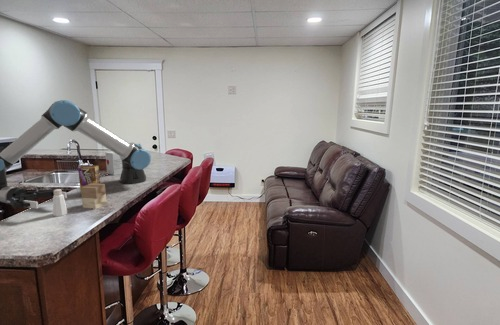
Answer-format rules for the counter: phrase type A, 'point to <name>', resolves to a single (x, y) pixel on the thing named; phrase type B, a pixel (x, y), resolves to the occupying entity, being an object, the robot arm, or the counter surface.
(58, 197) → the salt shaker
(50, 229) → the counter surface
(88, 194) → the tower top
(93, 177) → the candy box
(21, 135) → the robot arm
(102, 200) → the tower bottom
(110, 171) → the supplement box
